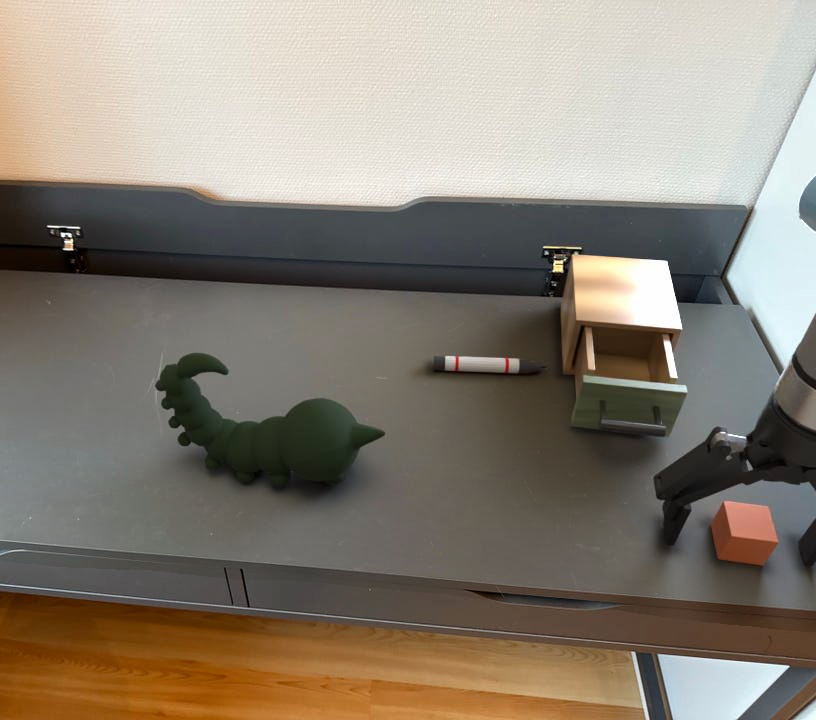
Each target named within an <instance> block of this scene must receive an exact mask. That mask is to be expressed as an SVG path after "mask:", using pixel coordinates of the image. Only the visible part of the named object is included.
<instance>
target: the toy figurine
mask: <svg viewBox="0 0 816 720" xmlns="http://www.w3.org/2000/svg"><path fill="white" fill-rule="evenodd" d="M205 373H216V374H220V375H222V376H228V375H229V373H230V371H229V368H228V367H227V366H226V365H225V364H224V363H223V362H222V361H221V360H220V359H218V358H217V357H215V356H213V355H211V354H207V353H205V352H192V353H187V354H185V355H183V356H181V357H180V358H179V360H178V361H177V363H171V364H166V365H165V366H164V368H163V369H162V371H161V372H160V375H159V379H157V380H156V382H155V384H154V386H155V389H156V391H157V392H165V396H164V397H163V398H162V399H161V401H160V405H161V407H162V409H164V410H166V411H168V410H171V409H173V410H174V411H173V412H174V413H173V414H174V415H171V417H170V418H169V419H168V421H167V423H168V426H169V427H170V428H171V429H178V428H179V427H182V428H184V431H182V432H181V433H179V435H178V436H177V443H178V445H180V446H181V447H189V446H190V445H191V444H194V445H196V446H198V447H203V448H204V450H205V452H206V453H207V454H206V456H205V458H204V467H205V468H206V469H207V470H209V471H216V470H219V469H220V468H221V466H222V462H223V463H228V465H229V466H230V467H231V468H233V469H234V470H236V477H237V480H238V481H239V482H241V483H243V484H249V483H250V482H251V481H252V480H253V479H254V477H255V473H257V472H259V471H261V470H262V471H264V472H265V473H268V480H269V482H270V485H272V486H274V487H277V488H282V487H286V486H287V485H288V484H289V483H290V480H291V472H292V473H293V474H295V475H297V476H298V477H300V478H301V479H305V480H309V481H314V482H325V483H327V484H328V485H335V486H336V485H339V484H341V483H342V482H343V481H344V480H345V478H346V475H347V471H348V470H349V469H350V468H351V467H352V465H353V464H354V463H355V462H356V459H357V458H358V455H359V453H360V450H361V448H362V447H364V446H366V445H370V444H371V443H373V442H375V441H377V440H379V439H381V438H383V437H384V436H386V431H385V430H383V429H380V428H377V427H372V426H370V425H366V424H362V423H359V422H358V421H357V419H356V417H355V416H354V415H353V413H352V412H351V411H350V410H349V409H348V408H347V407H346V406H344V405H343V404H341V403H340V402H337V401H336V400H333V399H329V398H326V397H325V398H324V397H316V398H310V399H305V400H303V401H301V402H299V403H297V404H296V405H294V406H292V407H291V408H290V409H289V410H288V412H287V413H286V414H285V415H284V416H282V415H275V416H270V417H268V418H265V419H263V420H262V421H260V422H257V421H253V420H244V421H240V422H237V421H235V420H234V419H230V418H223V416H222V414H221V413H220V411H218V410H216V409H215V408H212V405H211V402H210V400H209V399H208V398H207V397H206V396H205V395H204V394H202V391H201V387H200V385H199V384H198V382H197V381H196V380H194V379H193V378H194V377H196V376H198V375H200V374H205Z"/></svg>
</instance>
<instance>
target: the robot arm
mask: <svg viewBox="0 0 816 720" xmlns="http://www.w3.org/2000/svg"><path fill="white" fill-rule="evenodd" d="M797 212H798V215H799V216H798V218H799V219H800V220H801V221H802V223H803V224H804V226H806V227H807V228H808V229H809V230H810V231H811V232H813V233H814V234H815V235H816V173H815V174H814V175H813V176H812V177H811V178H810V180H809V181H808V182H807V183H806V185H805V186H804V187H803V189H802V191H801V194H800V196H799V198H798V204H797ZM747 462H748V463H749V465H750V466H751V468H752V469H750V470H749V467H748V463H747ZM652 478H653V485H654V493H655V498H656V499H657V500H658V501H663V504H662V507H661V508H662V515H663V521H662V526H663V533H664V539H665V545H666V546H667V545H668V546H675V544H676V542H677V540H678V538H679V536H680V534H681V532H682V530H683V528H684V526H685V524H686V522H687V520H688V518H689V516H690V514H691V512H692V511H693V510H692V503H695V502H698V501H700V500H702V499H704V498H708V497H710V496H713V495H715V494H718V493H721V492H723V491H725V490H727V489H730V488H734V487H736V486H738V485H740V484H742V485H744V486H750V485H753V484H755V483H758V482H760V481H764V482H770V483H774V482H775V483H781V482H782V483H785V484H789V485H795V486H800V485H801V484H805V483H809V484H810V485H811V487H812V488H813V490H814V491H815V492H816V312H815V314H814V315H813V318H812V319H811V321H810V323H809V325H808V327H807V329H806V331H805V333H804V335H803V337H802V339H801V341H800V342H799V343H798V344H797V346H796V348H795V350H794V352H793V354H792V355H791V357H790V358H789V361H788V362H787V364H786V365H785V367H784V370H783V371H782V373H781V375H780V376H779V378H778V380H777V381H776V384H775V386H774V389H773V390H772V392H771V393H770V395H769V397H768V398H767V400H766V402H765V404H764V406H763V408H762V410H761V412H760V414H759V415H758V418H757V420H756V423H755V427H754V428H753V430H752V431H751V432H749V433H747V434H746V435H744V436H739V435H735V434H729V432H728V430H727V427H726V426H723V425H722V426H721V425H718V426H715V427H714V428H712V430H711V431H710V433H709V434H708V436H706V439H705V440H704V441H703V442H701V443H699V444H698V445H697V446H695V447H694V448H692V449H691V450H689V451H688V452H686V453H685V454H684V455H681V457H679V458H678V459H677V460H676V459H675V461H673V462H671V464H669V465H668V466H667V467H665V468H663V469H662V470H660V471H659V472H658V473H656V474H655V475H654V476H653V477H652ZM797 544H798V547H799V550H800V553H801V556H802V560H803V563H804V565H805V566H814V565H815V563H816V517H815V518H814V519H813V521H812V522H811V523H810V525H809V526H808V528H807V529H806V530H805V531H804V533H803V535H802V536H801V537H800V539H799V540H798V541H797Z"/></svg>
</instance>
